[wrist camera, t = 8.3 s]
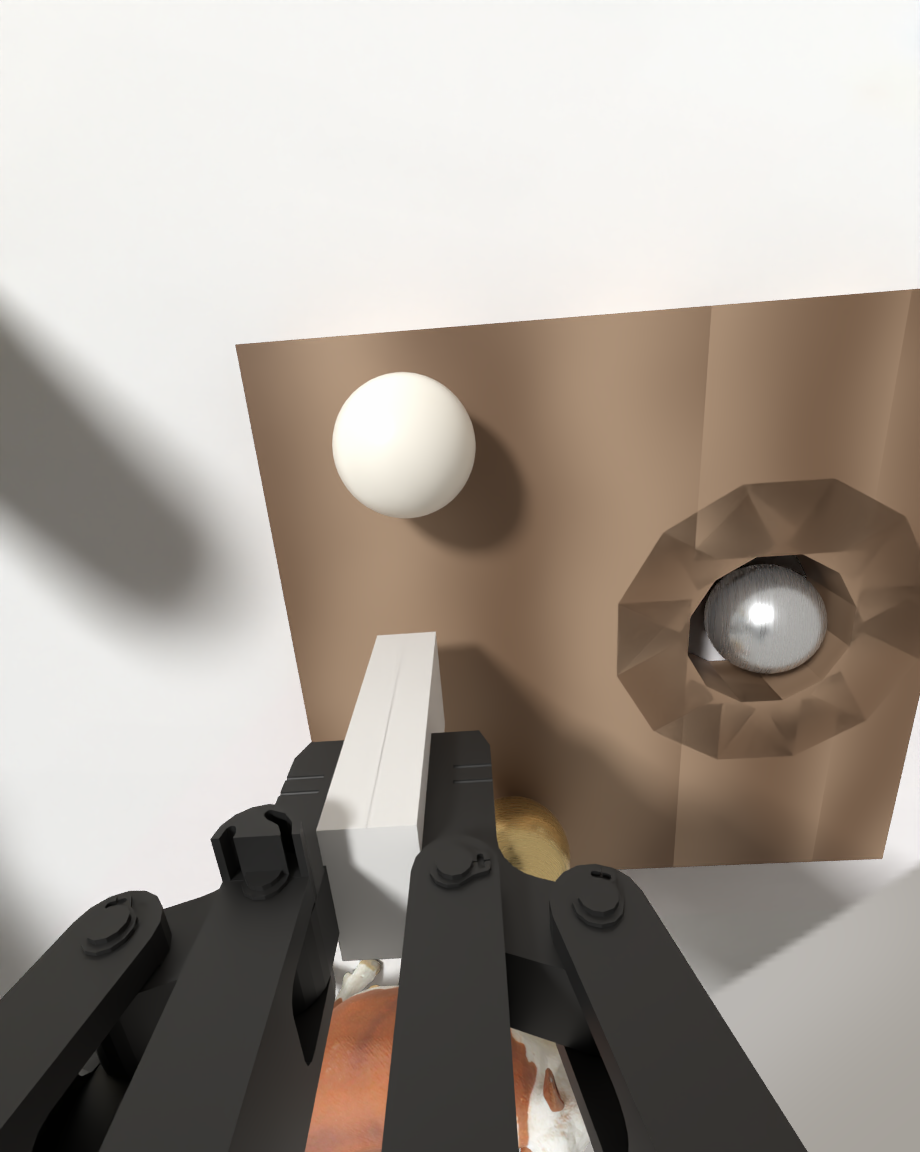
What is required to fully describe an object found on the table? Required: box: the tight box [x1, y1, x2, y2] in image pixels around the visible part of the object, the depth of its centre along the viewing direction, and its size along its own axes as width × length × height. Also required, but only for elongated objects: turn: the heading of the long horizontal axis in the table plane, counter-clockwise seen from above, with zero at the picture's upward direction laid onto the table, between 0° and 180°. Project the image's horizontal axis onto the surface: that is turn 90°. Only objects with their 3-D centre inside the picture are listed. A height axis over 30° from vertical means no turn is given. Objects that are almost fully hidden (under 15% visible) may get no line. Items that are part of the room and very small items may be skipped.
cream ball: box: [332, 372, 476, 518], centre depth 13 cm, size 3×3×3 cm
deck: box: [236, 289, 920, 869], centre depth 18 cm, size 18×17×2 cm
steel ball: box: [704, 564, 827, 673], centre depth 17 cm, size 3×3×3 cm
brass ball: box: [494, 796, 570, 881], centre depth 17 cm, size 3×3×3 cm
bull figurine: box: [305, 960, 590, 1152], centre depth 20 cm, size 4×13×8 cm, turn 108°
